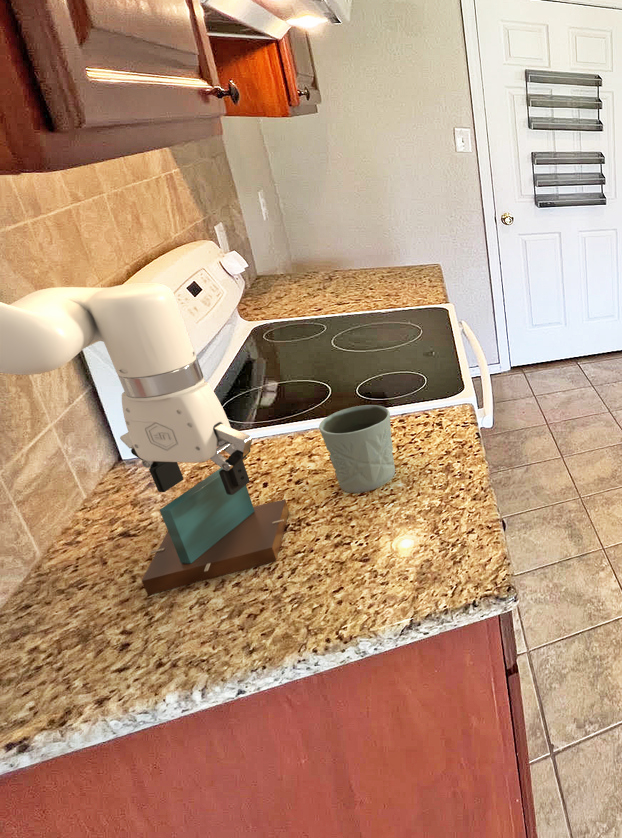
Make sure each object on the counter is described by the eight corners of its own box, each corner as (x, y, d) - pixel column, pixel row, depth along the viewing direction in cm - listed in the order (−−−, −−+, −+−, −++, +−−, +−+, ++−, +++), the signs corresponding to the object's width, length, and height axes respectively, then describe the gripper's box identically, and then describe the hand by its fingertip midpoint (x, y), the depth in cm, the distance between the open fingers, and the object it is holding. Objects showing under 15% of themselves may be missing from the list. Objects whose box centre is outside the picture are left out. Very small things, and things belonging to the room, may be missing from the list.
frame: (190, 563, 78) (168, 508, 74) (180, 563, 78) (158, 508, 74) (255, 511, 88) (238, 460, 85) (246, 510, 88) (229, 460, 85)
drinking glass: (321, 494, 96) (304, 433, 92) (357, 460, 105) (343, 403, 101) (382, 495, 96) (368, 434, 92) (412, 461, 106) (400, 404, 101)
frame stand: (137, 605, 74) (130, 590, 73) (174, 533, 87) (168, 519, 86) (279, 567, 81) (275, 552, 80) (295, 505, 93) (291, 491, 92)
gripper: (67, 389, 70) (118, 502, 77) (202, 394, 70) (243, 507, 76) (127, 364, 77) (170, 469, 84) (251, 368, 77) (285, 473, 83)
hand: (205, 487), depth 80 cm, fingers open, 9 cm apart
